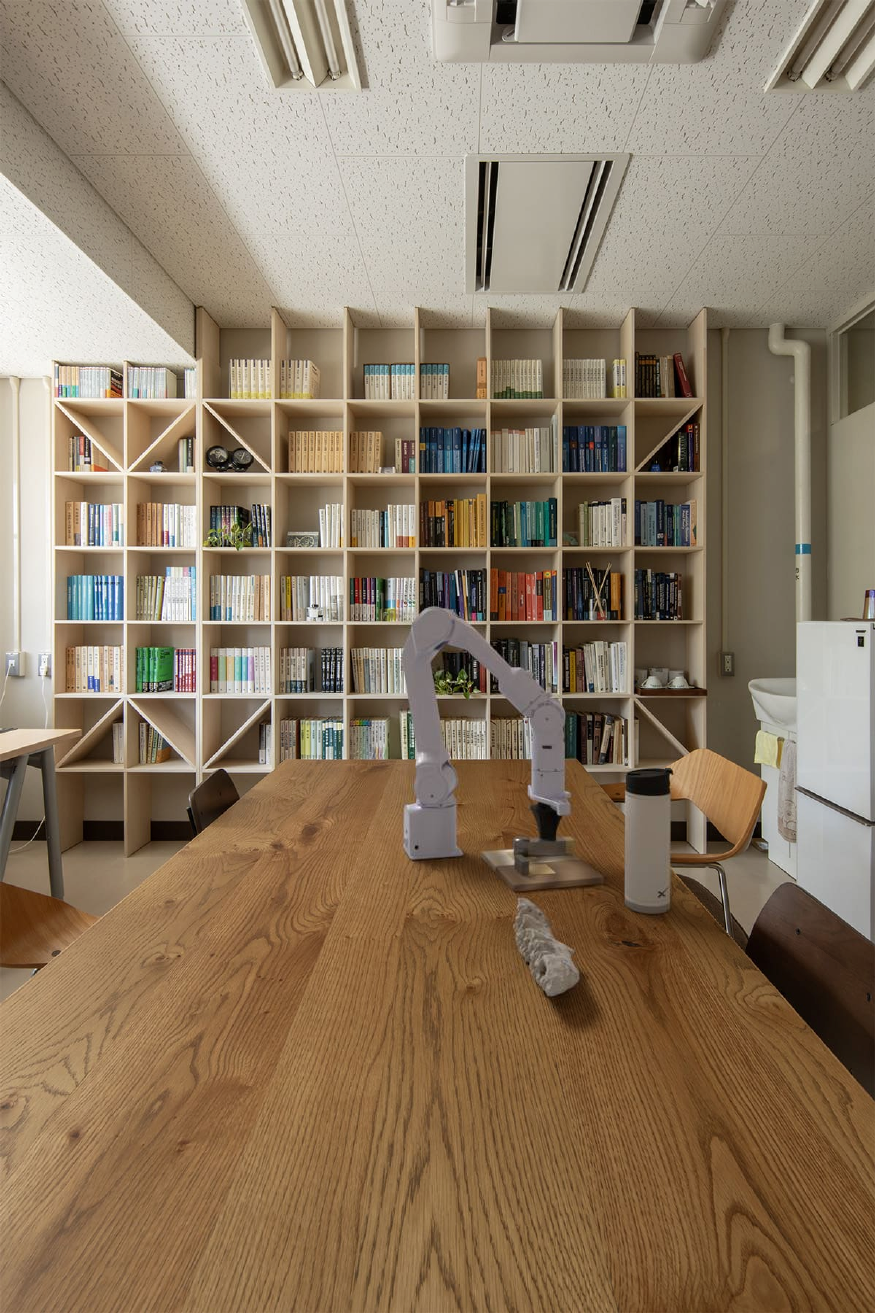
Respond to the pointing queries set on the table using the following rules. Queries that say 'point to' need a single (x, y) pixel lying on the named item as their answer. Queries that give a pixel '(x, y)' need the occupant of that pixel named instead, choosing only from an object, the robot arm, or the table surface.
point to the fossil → (543, 950)
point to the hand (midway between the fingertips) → (547, 845)
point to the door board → (540, 870)
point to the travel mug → (647, 840)
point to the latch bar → (543, 846)
